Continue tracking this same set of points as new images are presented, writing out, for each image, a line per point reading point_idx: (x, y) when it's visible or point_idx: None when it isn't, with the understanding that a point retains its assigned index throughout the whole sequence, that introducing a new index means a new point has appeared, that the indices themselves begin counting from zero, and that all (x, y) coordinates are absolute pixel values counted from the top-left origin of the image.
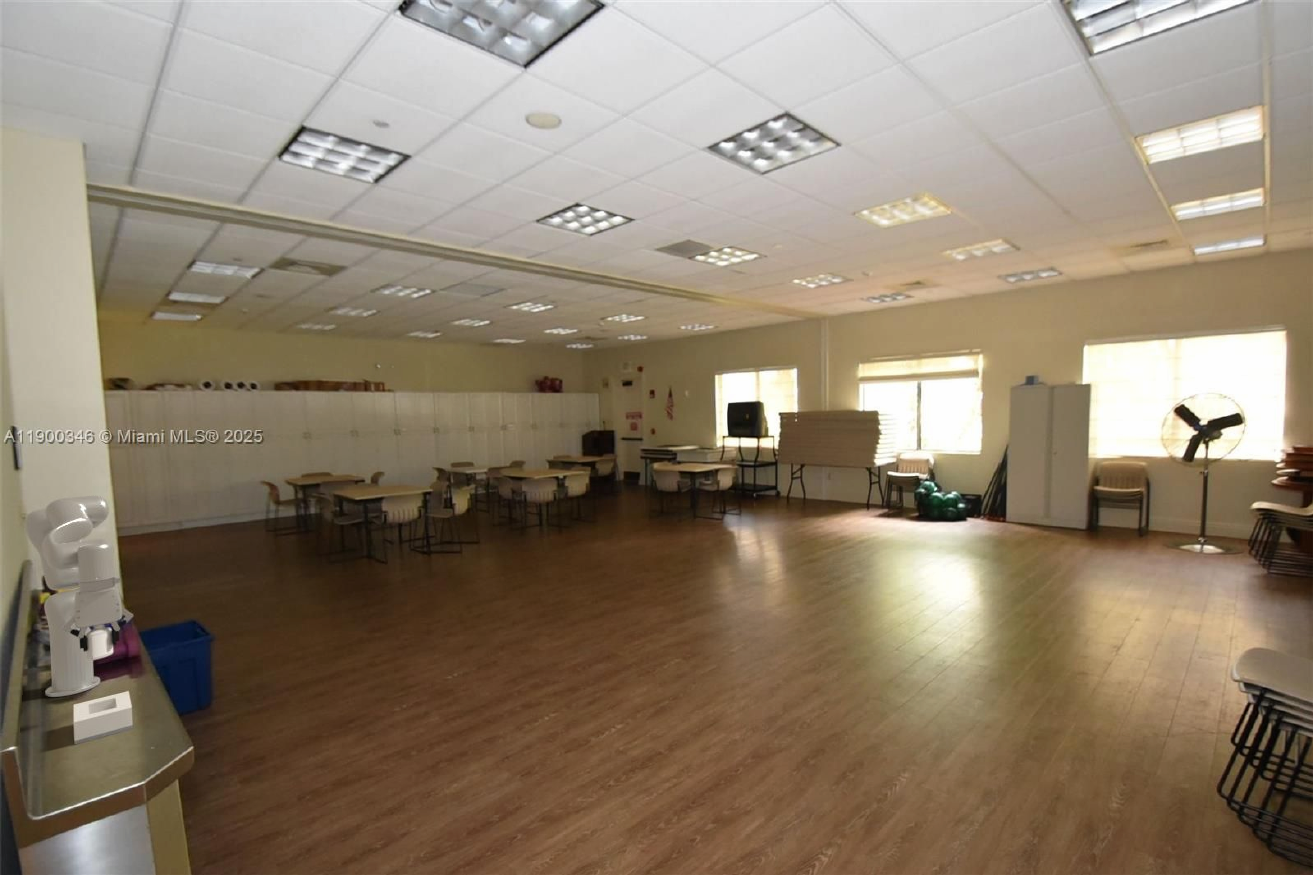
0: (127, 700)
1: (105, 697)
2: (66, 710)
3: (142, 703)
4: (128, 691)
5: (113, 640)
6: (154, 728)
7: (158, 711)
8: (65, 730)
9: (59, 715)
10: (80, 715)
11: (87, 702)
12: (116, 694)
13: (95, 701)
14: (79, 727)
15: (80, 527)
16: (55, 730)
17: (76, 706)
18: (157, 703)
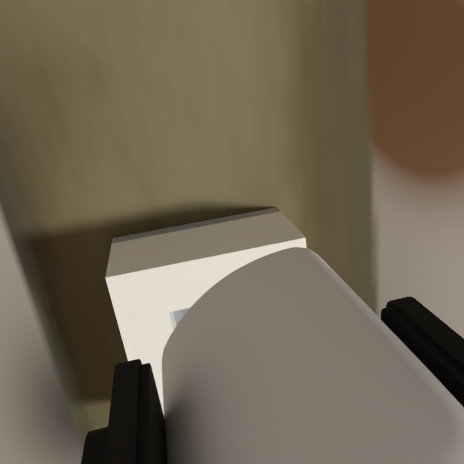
0: None
1: (223, 262)
2: (21, 8)
3: (315, 149)
4: (305, 241)
5: None
6: None
7: (357, 268)
8: (92, 266)
9: (10, 65)
10: (163, 411)
11: (159, 284)
12: (262, 251)
13: (190, 289)
14: None
15: None
16: (54, 245)
17: (124, 307)
18: (360, 186)
